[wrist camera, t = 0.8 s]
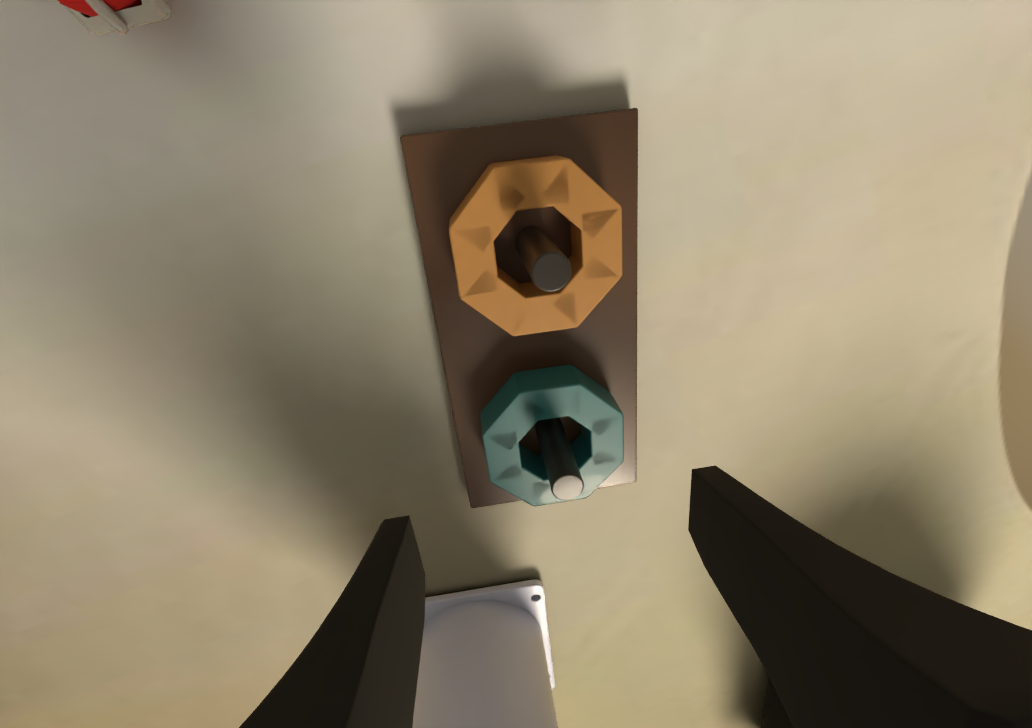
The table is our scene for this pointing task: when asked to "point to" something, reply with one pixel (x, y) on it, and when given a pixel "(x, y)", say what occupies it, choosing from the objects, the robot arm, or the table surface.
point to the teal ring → (547, 399)
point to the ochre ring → (590, 243)
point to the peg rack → (529, 258)
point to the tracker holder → (117, 13)
